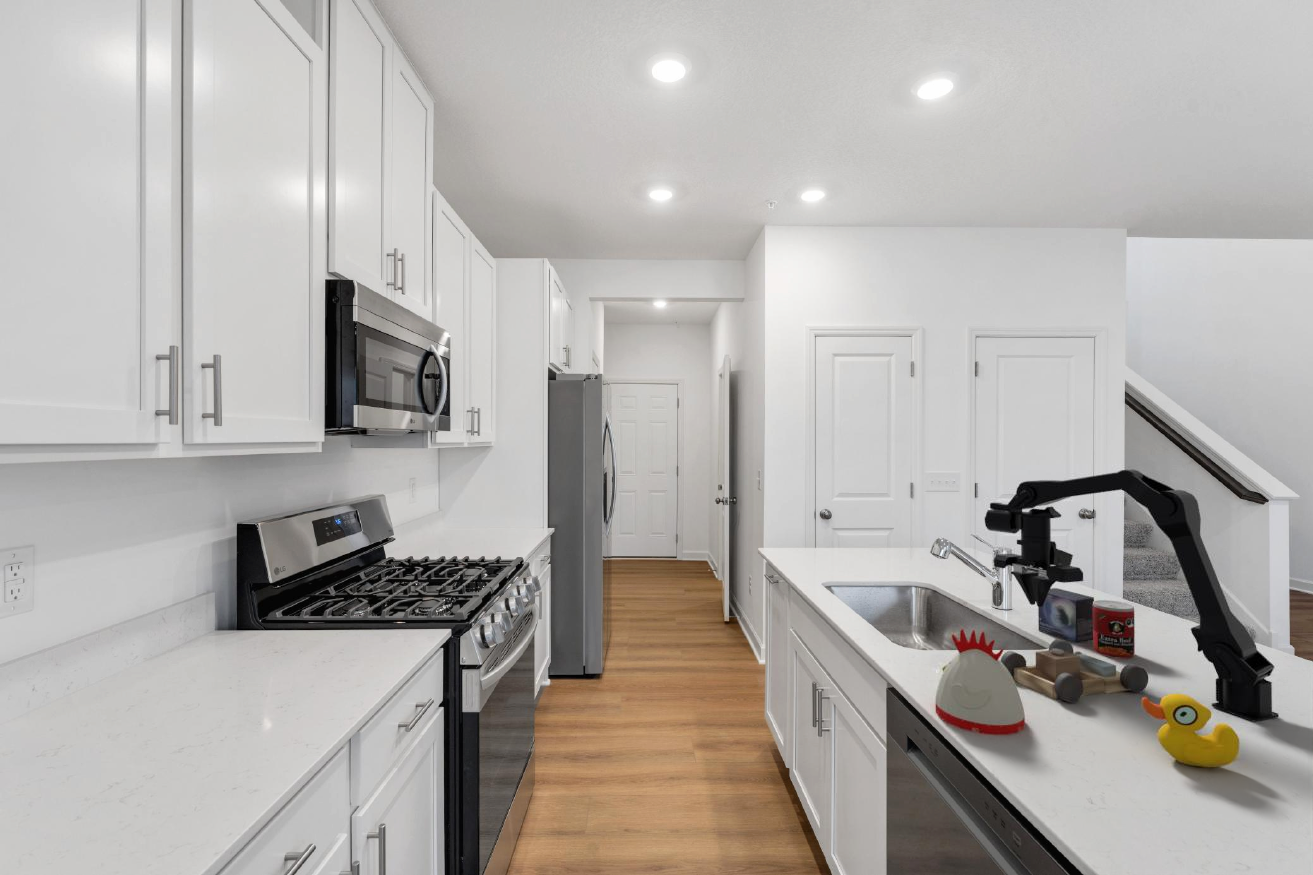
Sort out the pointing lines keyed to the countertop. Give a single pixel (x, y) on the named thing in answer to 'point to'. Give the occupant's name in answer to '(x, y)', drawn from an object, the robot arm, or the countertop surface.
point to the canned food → (1113, 629)
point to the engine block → (1056, 664)
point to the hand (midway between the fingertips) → (1036, 605)
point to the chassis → (1071, 688)
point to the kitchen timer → (979, 690)
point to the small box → (1067, 615)
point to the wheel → (1061, 645)
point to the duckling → (1192, 732)
